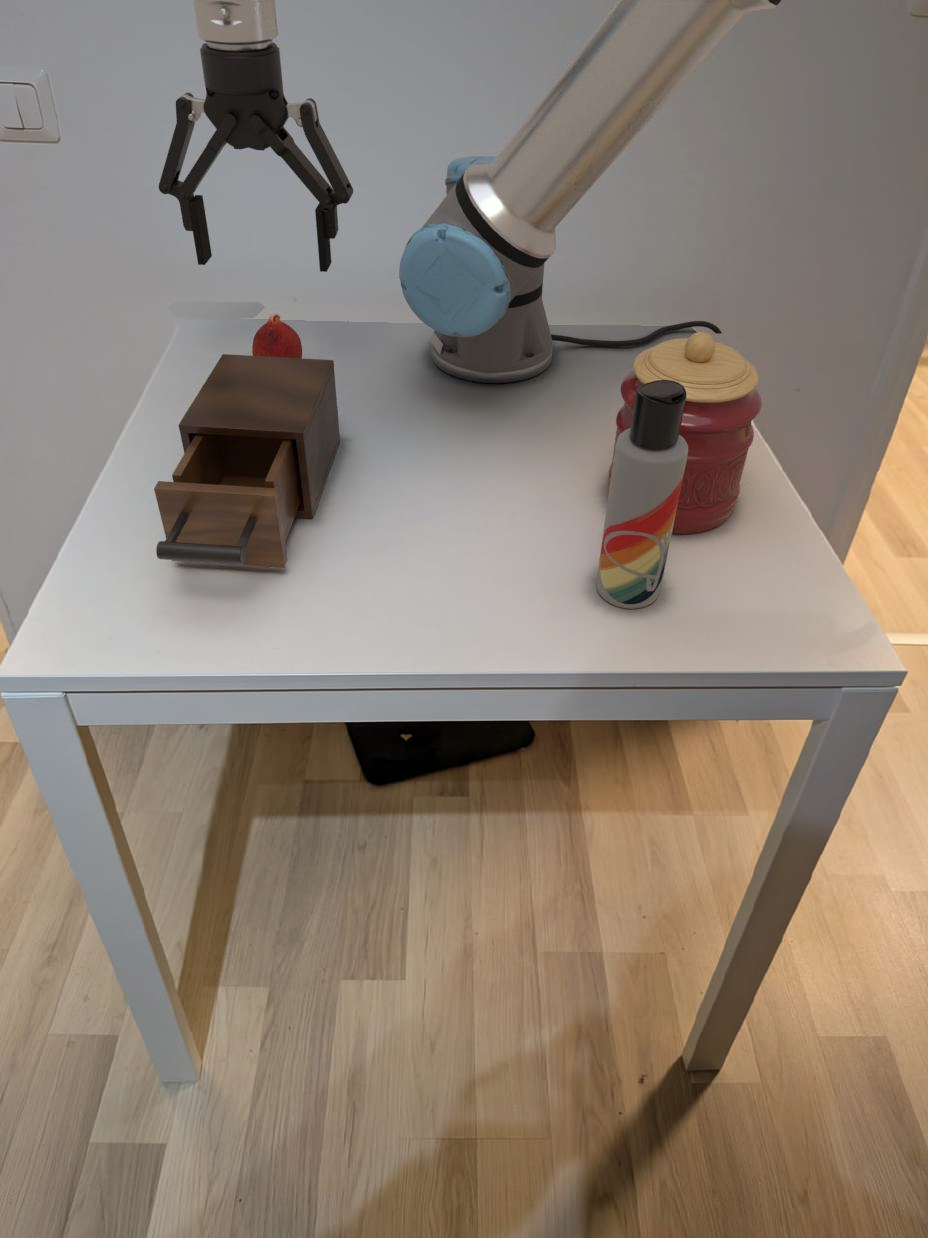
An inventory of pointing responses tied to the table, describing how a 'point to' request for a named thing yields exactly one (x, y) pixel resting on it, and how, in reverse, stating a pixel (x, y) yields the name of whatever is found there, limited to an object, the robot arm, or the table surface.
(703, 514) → the kitchen canister
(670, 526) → the lotion bottle
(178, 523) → the drawer
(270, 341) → the red pomegranate
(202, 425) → the cabinet
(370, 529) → the table surface
